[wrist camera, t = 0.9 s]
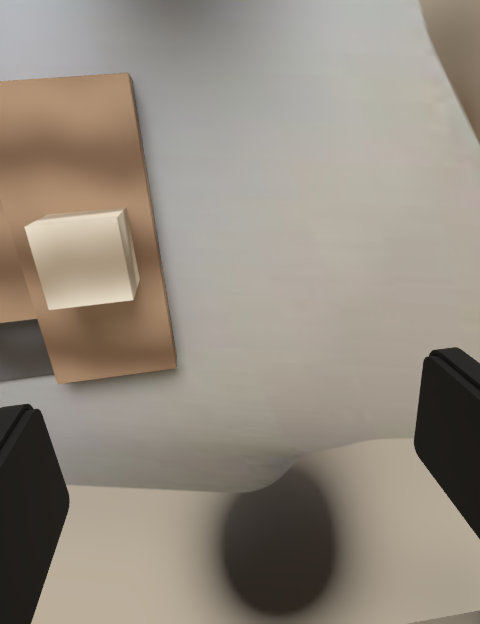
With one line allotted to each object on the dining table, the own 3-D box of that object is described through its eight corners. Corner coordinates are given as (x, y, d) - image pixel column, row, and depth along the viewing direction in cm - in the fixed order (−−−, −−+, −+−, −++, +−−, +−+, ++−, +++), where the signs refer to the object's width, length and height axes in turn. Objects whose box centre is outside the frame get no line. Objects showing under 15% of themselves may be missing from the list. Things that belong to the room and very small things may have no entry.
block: (47, 214, 25) (24, 226, 22) (126, 207, 26) (116, 217, 22) (66, 287, 27) (48, 310, 24) (139, 279, 28) (133, 300, 24)
